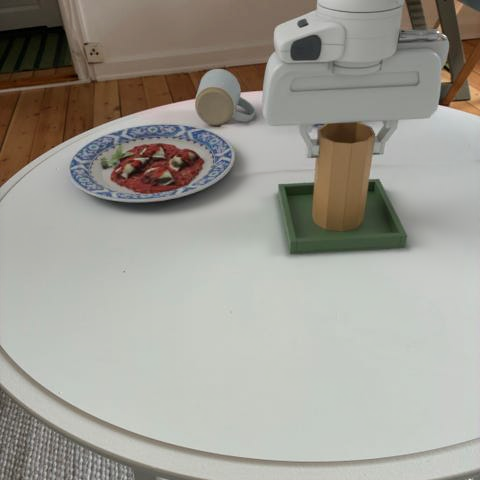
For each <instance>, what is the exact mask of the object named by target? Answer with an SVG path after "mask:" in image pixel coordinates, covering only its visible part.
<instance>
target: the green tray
mask: <svg viewBox="0 0 480 480" xmlns="http://www.w3.org/2000/svg"><path fill="white" fill-rule="evenodd" d="M277 185H278V186H277V197H278V202H279V207H280V211H281V217H282V222H283V227H284V231H285V235H286V242H287V247H288V253H289V255H301V254H302V255H303V254H320V253H336V252H353V251H356V252H357V251H371V250H389V249H390V250H392V249H406V244H407V239H408V234H407V232H406V229H405V228H404V226H403V224H402V222H401V220H400V218H399V216H398V214H397V212H396V210H395V208H394V206H393V204H392V202H391V200H390V198H389V196H388V194H387V192H386V189H385V188H384V186H383V184H382V182H381V179H380V178H369V183H368V190H367V197H366V204H365V211H364V218H363V221H362V222H361V224H360V225H359V226H358V227H357V228H355V229H351V230H347V231H343V232H340V231H332V230H325V229H324V228H322V227H320V226H319V225H317V224H315V223H314V220H313V216H312V209H313V194H314V182H313V181H312V182H294V183H293V182H292V183H278V184H277Z"/></svg>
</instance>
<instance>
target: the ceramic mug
mask: <svg viewBox="0 0 480 480" xmlns="http://www.w3.org/2000/svg"><path fill="white" fill-rule="evenodd" d="M241 93H242V90H241V84H240V83H239V80H238V79H237V77H236V76H235V75H234V74H233V73H231V72H230V71H229V70H226V69H224V68H214V69H211V70H209V71H207V72H205V73H204V75H203V76H202V77H201V80H200V82H199V86H198V89H197V93H196V95H195V98H194V99H195V100H194V107H195V108H194V109H195V112H196V114H197V116H198V117H199V118H200V119H201V121H202V122H204V123H205V124H208V125H209V126H215V127H216V126H221V125H224V124H226V123H228V122H229V121H230V120H231V119H233V120H235V121H238V122H242V123H247V122H250V121H252V120H253V119H254V118H255V116H256V114H257V113H256V112H257V111H256V108H255V106H254V105H253V104H251V102H249V101H248V100H247V99H245V98H243V97H242V96H241ZM238 106H239V107H240V108H242V109H243V110H244V111H247V113H249V114H245V113H243V112H240V111H238V110H237V107H238Z"/></svg>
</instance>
